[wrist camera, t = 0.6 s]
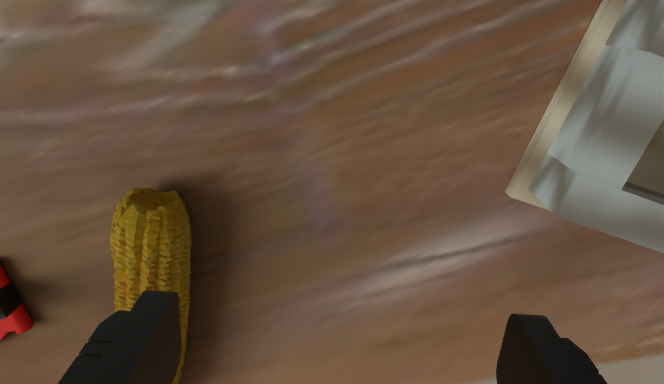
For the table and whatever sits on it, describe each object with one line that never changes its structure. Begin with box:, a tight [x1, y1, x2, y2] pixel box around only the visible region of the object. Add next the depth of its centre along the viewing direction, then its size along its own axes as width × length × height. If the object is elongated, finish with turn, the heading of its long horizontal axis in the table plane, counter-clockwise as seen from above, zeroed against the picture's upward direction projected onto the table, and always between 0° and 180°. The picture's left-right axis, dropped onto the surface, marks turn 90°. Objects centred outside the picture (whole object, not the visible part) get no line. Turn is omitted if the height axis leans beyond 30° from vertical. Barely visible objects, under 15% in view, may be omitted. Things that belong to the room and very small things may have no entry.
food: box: [110, 188, 192, 384], centre depth 39 cm, size 21×6×6 cm, turn 174°
